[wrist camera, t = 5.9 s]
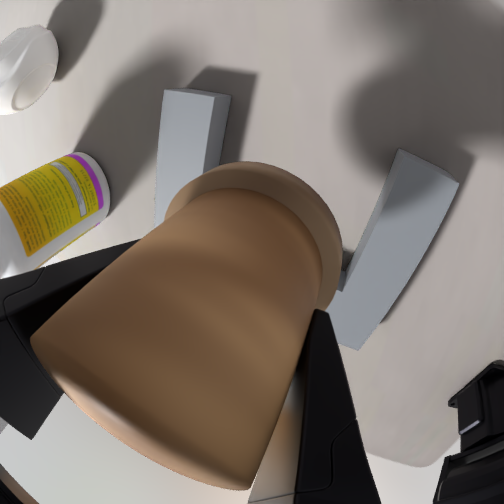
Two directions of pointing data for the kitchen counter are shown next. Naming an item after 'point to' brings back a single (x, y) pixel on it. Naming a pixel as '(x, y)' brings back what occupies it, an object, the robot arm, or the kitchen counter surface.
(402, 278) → the notched board
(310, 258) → the wooden drawer knob
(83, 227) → the supplement bottle
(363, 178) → the kitchen counter surface
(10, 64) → the white rounded piece
